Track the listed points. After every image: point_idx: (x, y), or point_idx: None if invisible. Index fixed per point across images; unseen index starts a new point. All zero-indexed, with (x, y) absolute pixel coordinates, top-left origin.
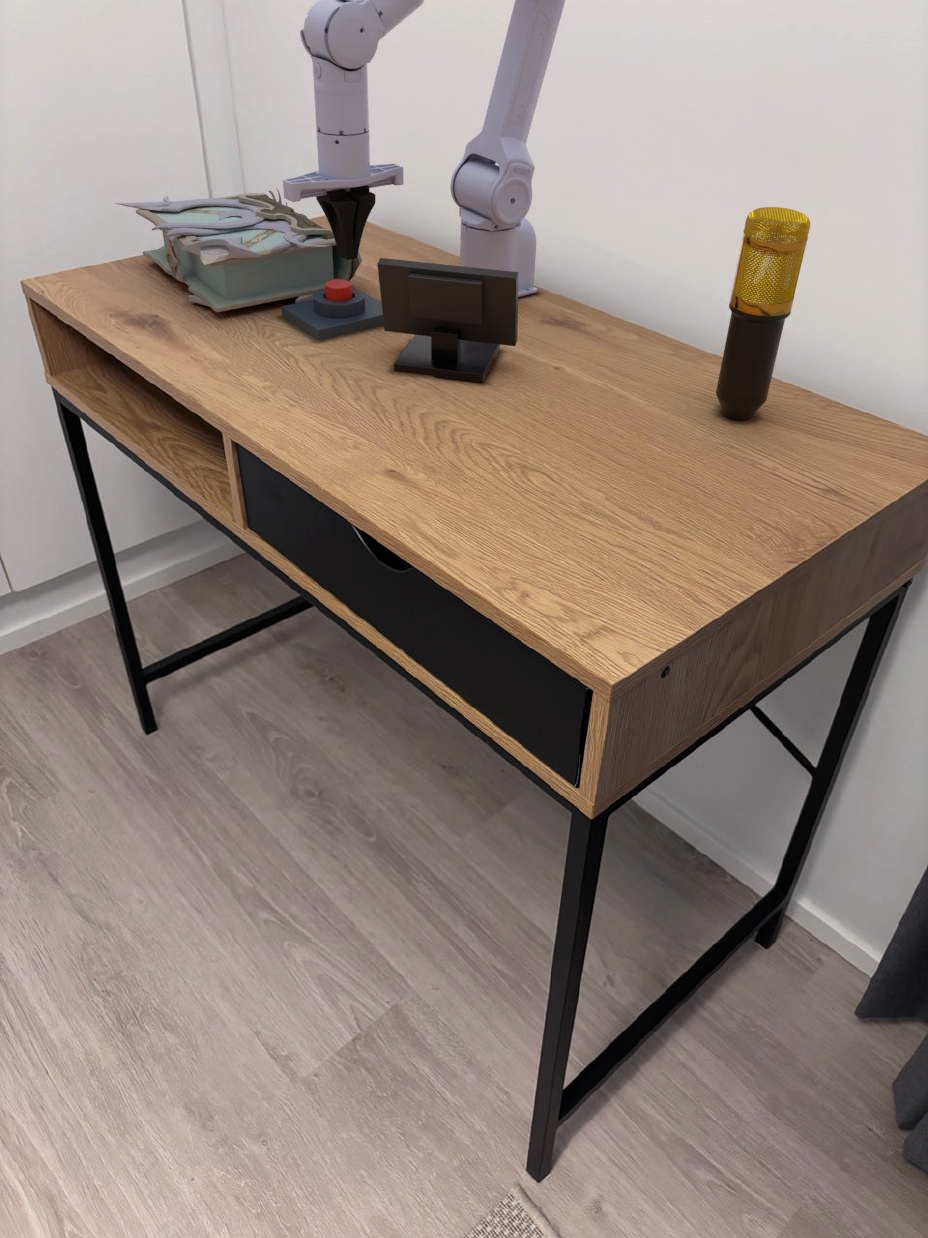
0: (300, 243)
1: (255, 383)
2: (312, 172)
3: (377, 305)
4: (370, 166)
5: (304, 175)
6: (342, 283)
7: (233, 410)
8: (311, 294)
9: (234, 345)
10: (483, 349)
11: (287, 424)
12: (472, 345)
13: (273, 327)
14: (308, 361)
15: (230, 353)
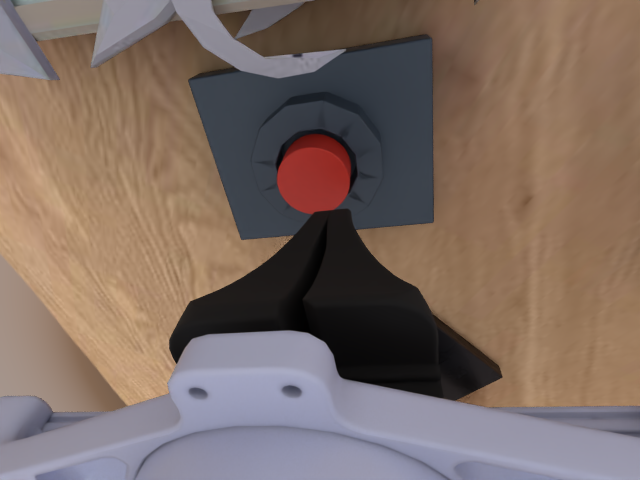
0: (214, 37)
1: (126, 309)
2: (95, 459)
3: (411, 174)
4: (592, 477)
5: (44, 469)
6: (323, 186)
7: (98, 352)
8: (291, 4)
9: (90, 178)
10: (463, 382)
11: (158, 393)
12: (459, 367)
13: (171, 124)
14: (210, 283)
15: (85, 208)
